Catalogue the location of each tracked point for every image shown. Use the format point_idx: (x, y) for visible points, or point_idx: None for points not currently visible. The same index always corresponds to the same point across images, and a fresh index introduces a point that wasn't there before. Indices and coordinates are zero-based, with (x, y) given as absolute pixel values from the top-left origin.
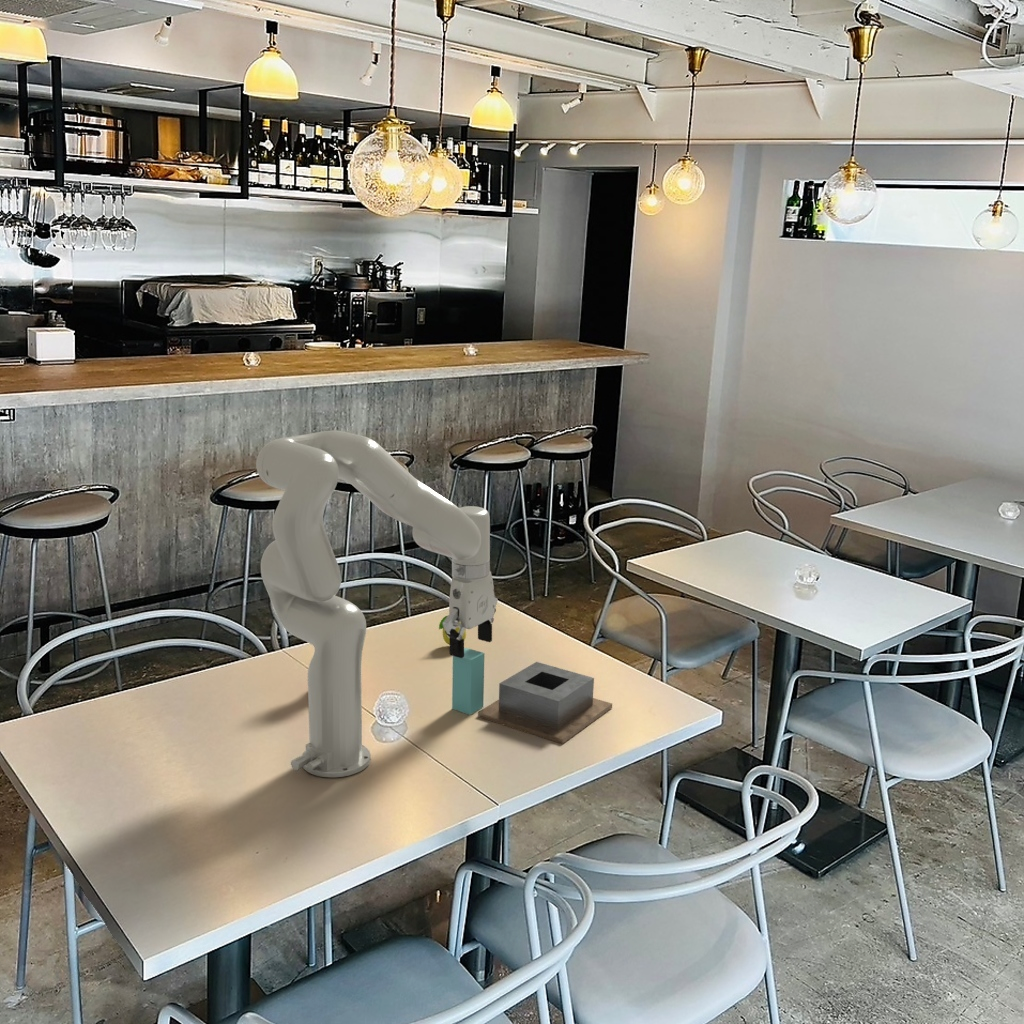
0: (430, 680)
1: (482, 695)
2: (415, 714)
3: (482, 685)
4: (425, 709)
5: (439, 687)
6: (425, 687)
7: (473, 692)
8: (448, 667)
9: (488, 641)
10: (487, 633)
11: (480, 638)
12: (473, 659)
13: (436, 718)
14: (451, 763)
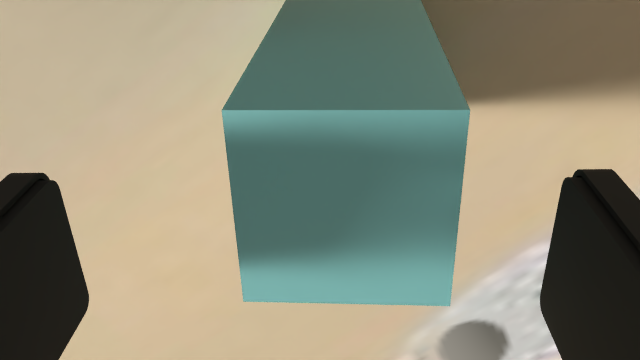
0: (228, 334)
1: (293, 7)
2: (555, 204)
3: (289, 22)
4: (484, 200)
5: None
6: (295, 315)
7: (395, 18)
8: (81, 347)
9: (55, 191)
10: (12, 259)
11: (77, 287)
12: (425, 108)
13: (546, 106)
14: None
